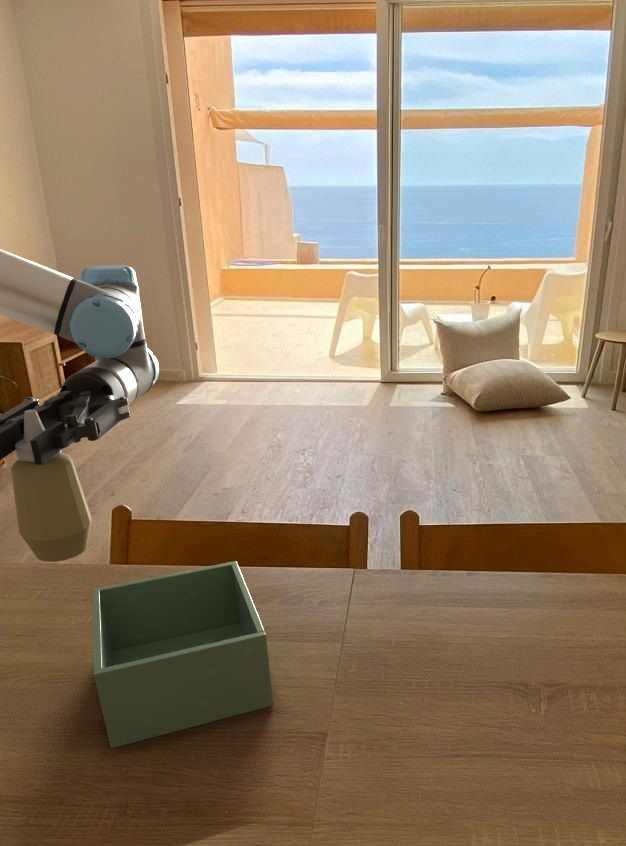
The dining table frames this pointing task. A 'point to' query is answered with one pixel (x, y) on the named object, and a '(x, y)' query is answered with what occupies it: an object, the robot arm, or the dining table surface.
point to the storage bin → (178, 652)
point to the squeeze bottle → (49, 500)
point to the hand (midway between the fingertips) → (12, 452)
